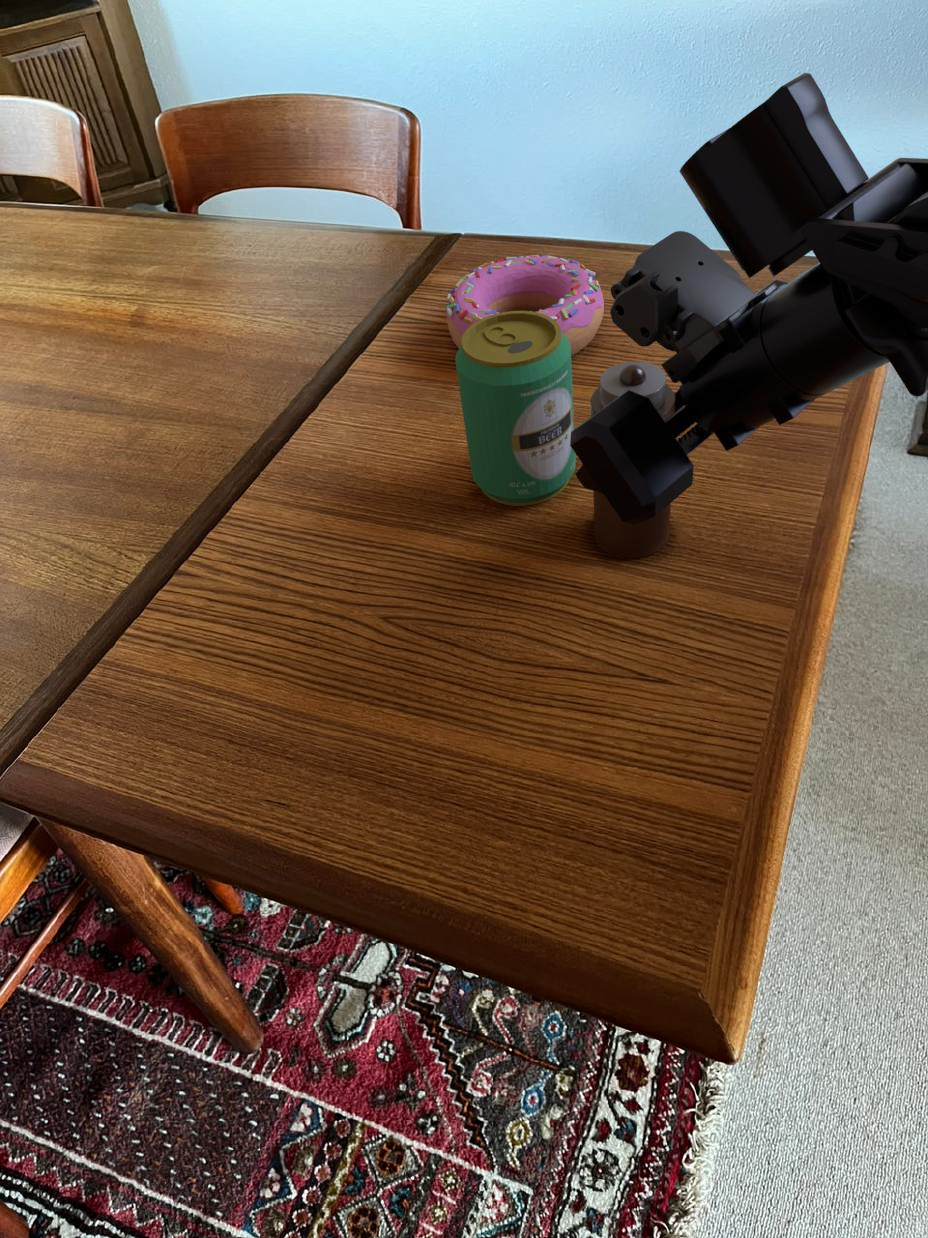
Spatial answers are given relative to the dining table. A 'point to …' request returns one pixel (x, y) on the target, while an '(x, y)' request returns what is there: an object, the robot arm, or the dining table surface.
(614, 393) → the pepper mill
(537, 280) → the donut
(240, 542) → the dining table surface
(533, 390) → the beverage can
